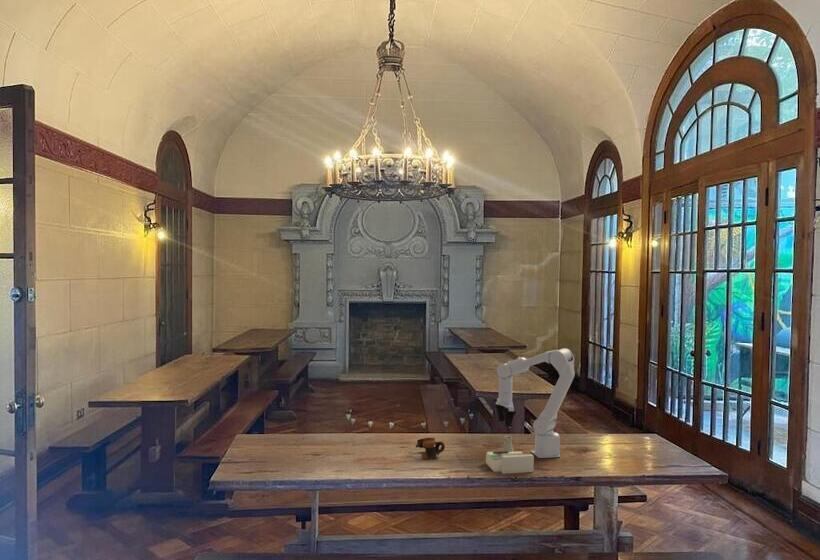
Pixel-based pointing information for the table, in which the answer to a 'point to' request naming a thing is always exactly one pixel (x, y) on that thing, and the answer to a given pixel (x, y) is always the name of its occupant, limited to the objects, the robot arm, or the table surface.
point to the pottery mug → (430, 447)
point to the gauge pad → (508, 453)
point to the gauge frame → (510, 463)
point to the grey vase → (508, 444)
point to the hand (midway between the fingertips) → (504, 423)
